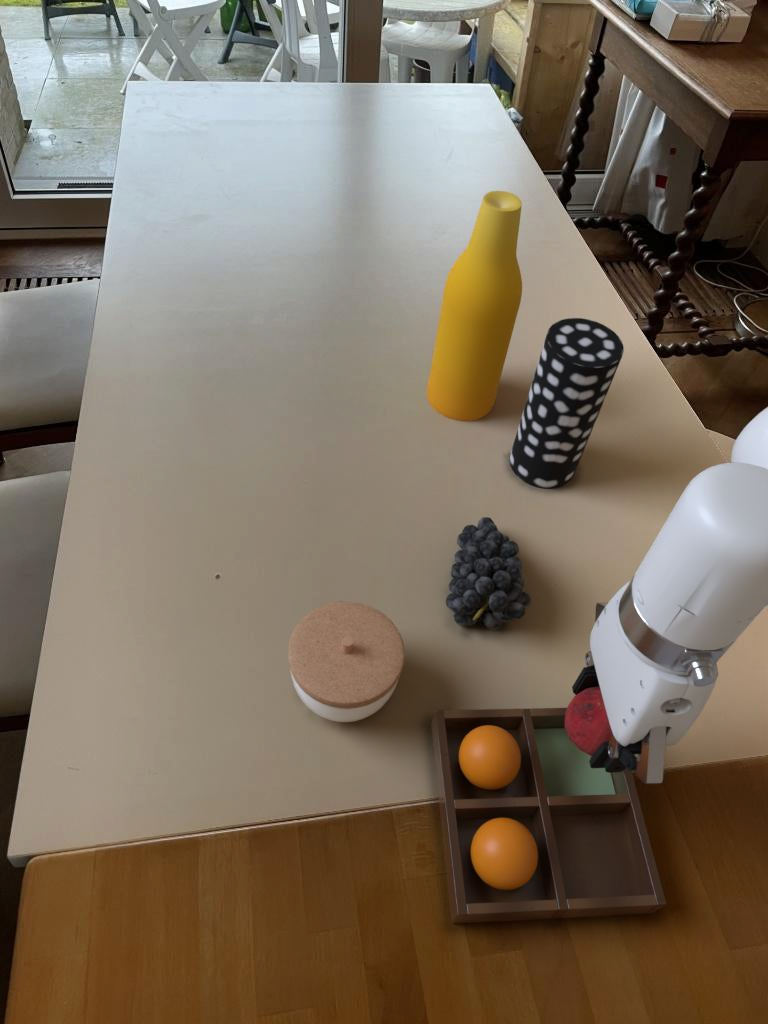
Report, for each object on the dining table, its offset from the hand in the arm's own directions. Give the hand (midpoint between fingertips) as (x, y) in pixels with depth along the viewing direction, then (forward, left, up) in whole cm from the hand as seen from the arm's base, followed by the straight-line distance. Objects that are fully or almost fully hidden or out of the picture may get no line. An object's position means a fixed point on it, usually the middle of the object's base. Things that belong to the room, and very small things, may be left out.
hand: (598, 725), depth 67 cm
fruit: (+5, -21, -10) cm, 24 cm away
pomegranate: (0, 0, -3) cm, 3 cm away
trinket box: (+21, -9, -10) cm, 25 cm away
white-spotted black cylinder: (-5, -39, -10) cm, 40 cm away
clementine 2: (+8, +8, -6) cm, 13 cm away
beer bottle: (+4, -51, -10) cm, 52 cm away
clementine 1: (+8, 0, -6) cm, 10 cm away
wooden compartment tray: (+4, +4, -10) cm, 12 cm away
